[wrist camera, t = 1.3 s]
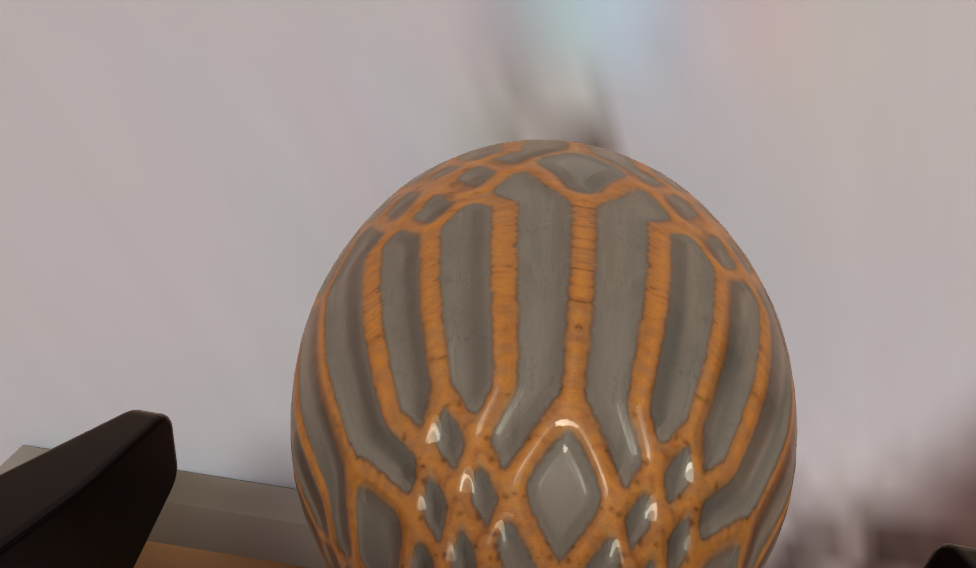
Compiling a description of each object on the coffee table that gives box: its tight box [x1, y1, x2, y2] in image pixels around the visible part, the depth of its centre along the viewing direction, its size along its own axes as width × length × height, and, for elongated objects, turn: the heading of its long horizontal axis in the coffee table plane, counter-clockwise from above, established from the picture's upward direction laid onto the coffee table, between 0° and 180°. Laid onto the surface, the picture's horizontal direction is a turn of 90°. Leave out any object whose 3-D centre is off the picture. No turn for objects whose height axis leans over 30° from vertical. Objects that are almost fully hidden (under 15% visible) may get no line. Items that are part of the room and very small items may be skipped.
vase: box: [291, 140, 797, 568], centre depth 9 cm, size 7×7×9 cm
